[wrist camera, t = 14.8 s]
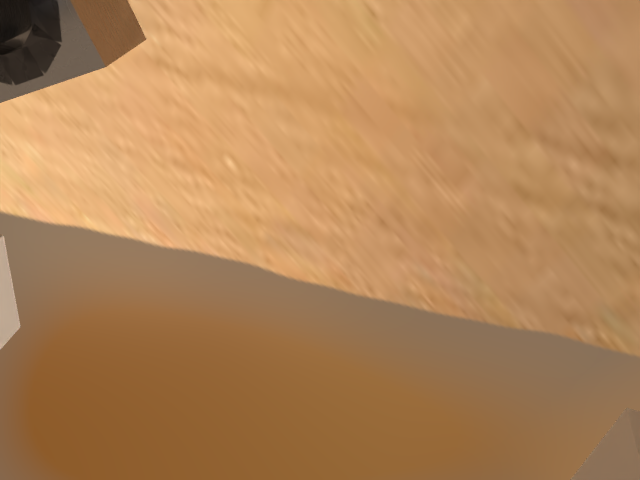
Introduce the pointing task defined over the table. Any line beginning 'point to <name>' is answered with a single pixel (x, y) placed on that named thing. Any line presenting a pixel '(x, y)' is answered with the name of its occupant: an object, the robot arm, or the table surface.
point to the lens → (13, 18)
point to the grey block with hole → (66, 43)
